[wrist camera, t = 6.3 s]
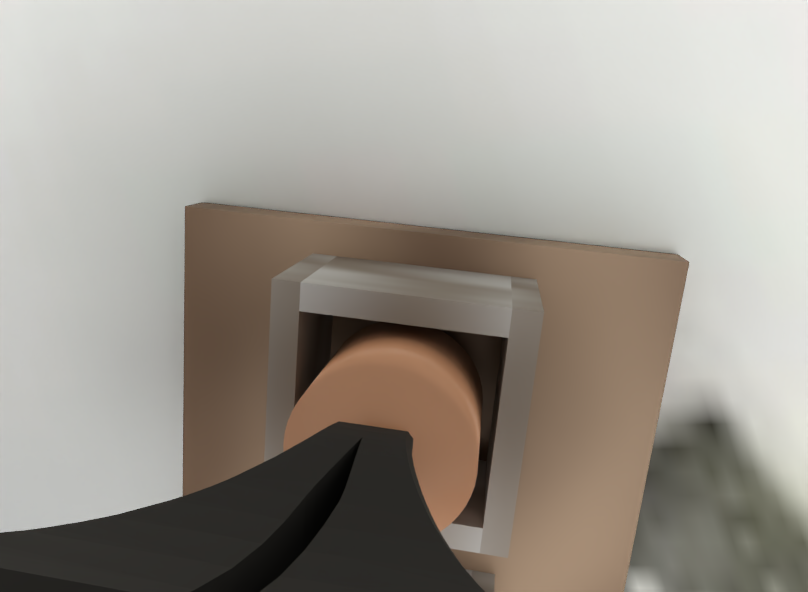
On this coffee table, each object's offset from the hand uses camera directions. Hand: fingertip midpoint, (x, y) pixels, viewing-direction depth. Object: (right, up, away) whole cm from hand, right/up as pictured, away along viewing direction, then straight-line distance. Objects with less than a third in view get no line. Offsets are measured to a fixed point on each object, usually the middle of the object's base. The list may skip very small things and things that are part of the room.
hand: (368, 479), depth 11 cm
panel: (+1, -2, +7) cm, 7 cm away
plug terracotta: (+1, +1, +3) cm, 4 cm away
